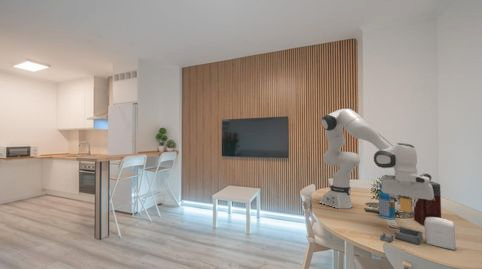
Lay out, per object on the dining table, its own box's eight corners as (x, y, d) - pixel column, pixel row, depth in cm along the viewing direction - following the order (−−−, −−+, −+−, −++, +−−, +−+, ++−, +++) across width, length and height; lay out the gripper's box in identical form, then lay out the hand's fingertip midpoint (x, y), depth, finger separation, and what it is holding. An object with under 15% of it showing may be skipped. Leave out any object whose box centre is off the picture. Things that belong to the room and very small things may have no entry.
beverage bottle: (379, 218, 133) (378, 185, 133) (378, 214, 140) (377, 182, 141) (396, 220, 129) (395, 186, 130) (394, 216, 137) (393, 183, 137)
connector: (400, 210, 107) (400, 196, 107) (402, 208, 109) (402, 195, 110) (410, 212, 104) (410, 198, 104) (412, 210, 106) (412, 196, 107)
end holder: (395, 238, 106) (395, 232, 106) (400, 232, 113) (399, 226, 113) (419, 245, 99) (418, 238, 99) (422, 238, 106) (422, 231, 106)
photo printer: (424, 243, 101) (423, 216, 101) (425, 240, 104) (424, 214, 104) (456, 251, 94) (455, 222, 94) (455, 247, 97) (454, 219, 97)
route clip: (380, 240, 105) (380, 235, 105) (383, 236, 108) (383, 232, 108) (390, 242, 102) (390, 238, 102) (393, 239, 105) (393, 235, 105)
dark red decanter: (425, 227, 119) (423, 175, 120) (413, 219, 130) (412, 172, 131) (444, 228, 117) (443, 175, 118) (431, 220, 128) (430, 172, 129)
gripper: (379, 175, 112) (379, 202, 112) (432, 180, 98) (432, 211, 97) (382, 173, 117) (383, 199, 116) (433, 178, 102) (434, 208, 101)
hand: (406, 205), depth 107 cm, fingers closed on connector, 4 cm apart
